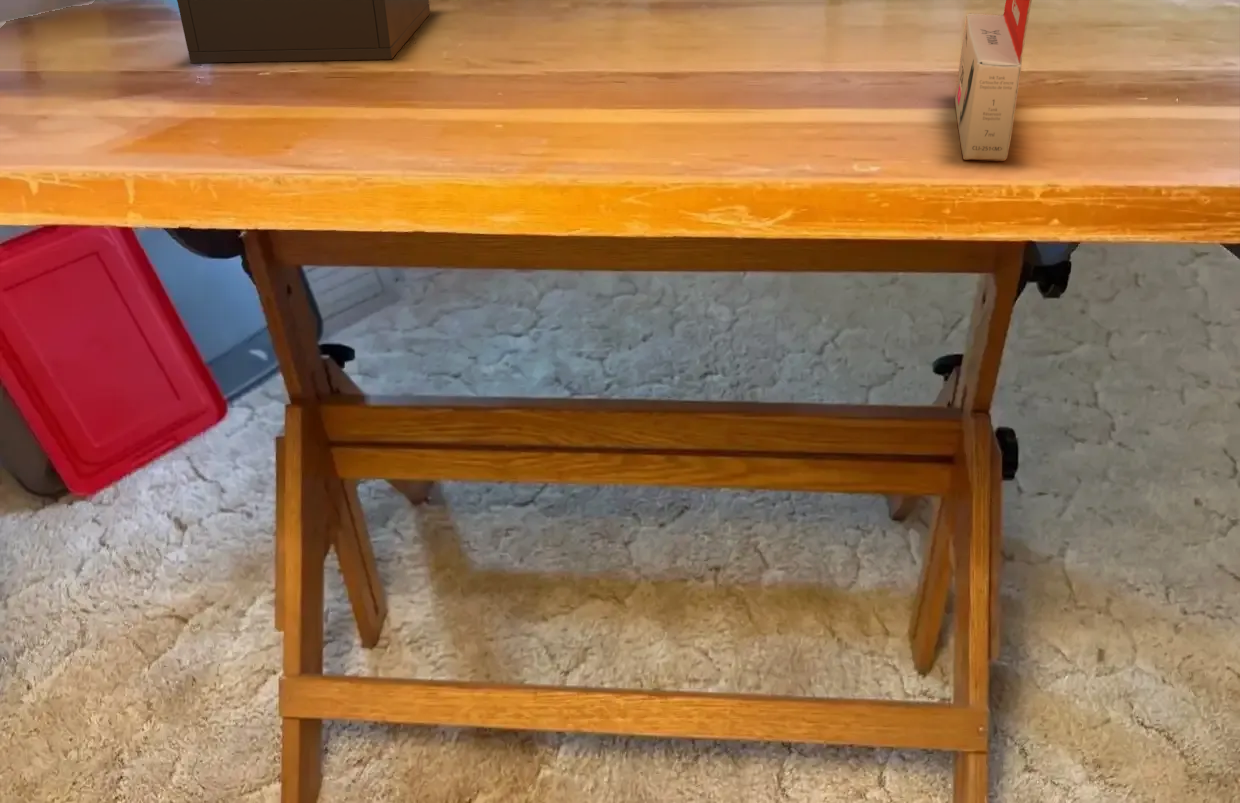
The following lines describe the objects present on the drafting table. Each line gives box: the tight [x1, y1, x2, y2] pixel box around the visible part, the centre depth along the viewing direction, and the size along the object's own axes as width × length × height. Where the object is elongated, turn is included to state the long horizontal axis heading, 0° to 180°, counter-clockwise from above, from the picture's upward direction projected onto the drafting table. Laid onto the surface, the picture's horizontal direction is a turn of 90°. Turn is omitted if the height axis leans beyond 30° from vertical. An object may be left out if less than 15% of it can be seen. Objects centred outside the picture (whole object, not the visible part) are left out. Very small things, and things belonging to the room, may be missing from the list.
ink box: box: [954, 0, 1033, 162], centre depth 61 cm, size 2×11×10 cm, turn 168°
